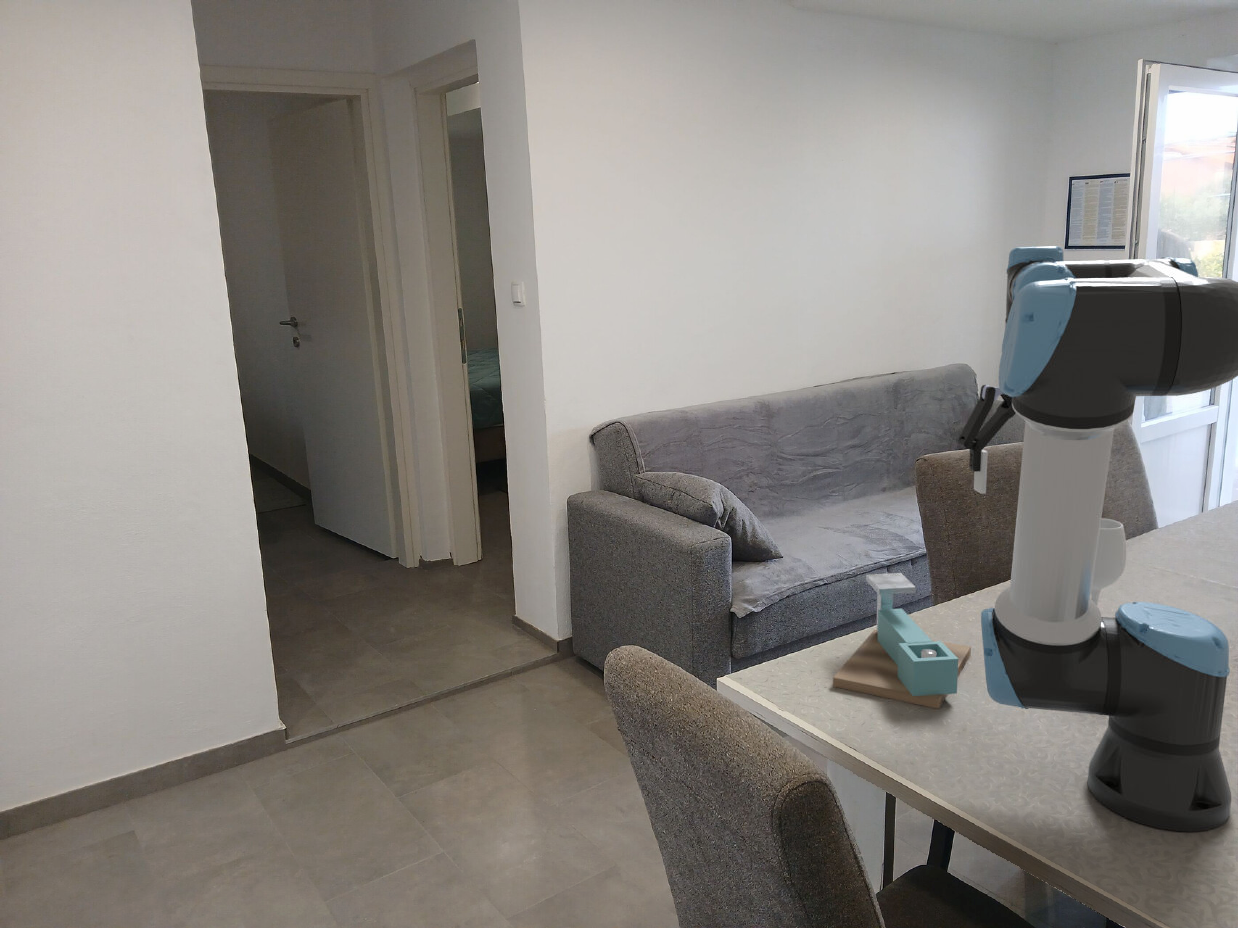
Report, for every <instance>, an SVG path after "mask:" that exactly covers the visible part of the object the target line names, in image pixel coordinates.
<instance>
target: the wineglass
mask: <svg viewBox="0 0 1238 928" xmlns="http://www.w3.org/2000/svg"><path fill="white" fill-rule="evenodd" d="M1126 561H1127V540H1126V533H1125V528H1124V525H1123V523H1121V522H1120V521H1118V520H1114V519H1110V518H1104V517H1101V524H1100V532H1099V539H1098V546H1097V553H1096V560H1095V567H1094V574H1093V581H1092V588H1091V595H1090V599H1091V600H1092V601H1093V602H1094V603H1095V604H1096V605H1097V606H1098V603H1099V597H1100V592H1101V591H1102V589H1104V588H1107V587H1109V586H1111V585H1113V584H1114V583H1115V582H1117V581H1118V580H1119V579H1120V578H1121V576H1123V574H1124V571H1125V567H1126Z"/></svg>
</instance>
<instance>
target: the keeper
mask: <svg viewBox="0 0 1238 928" xmlns="http://www.w3.org/2000/svg"><path fill="white" fill-rule="evenodd" d="M865 581H866V582H867V583H868V585H870V586H871V587H872V589H873V590H874V591H875V592H876V595H877V596H876V598H877V601H876V630H877V633H878V610H886V609H894V608H893V605H894V603H893V602H894V595H900V594H901V595H903V594H916V592H917V587H916V586H915V584H913V583H912V581H910V580H909V579H908V578H907V577H906V576H905V575H904V574H903V573H902V572H893V573H892V572H890V573H875V574H865Z"/></svg>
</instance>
